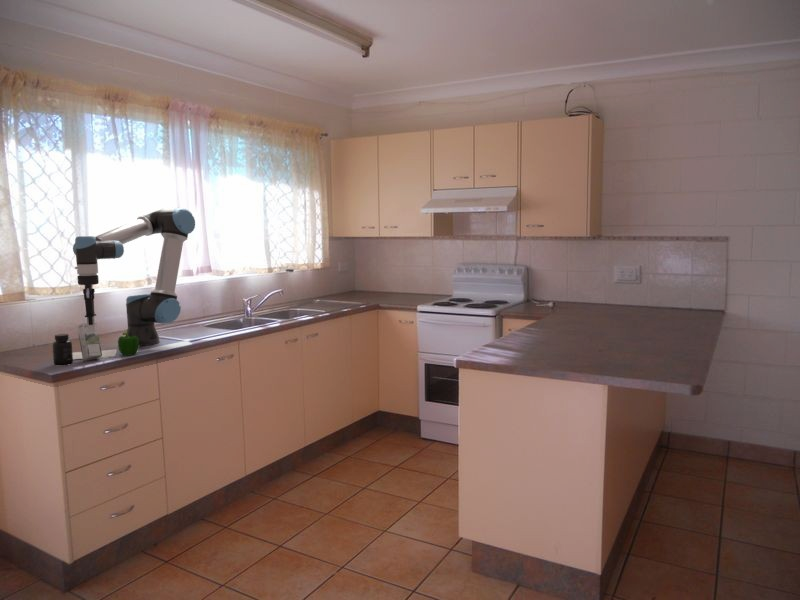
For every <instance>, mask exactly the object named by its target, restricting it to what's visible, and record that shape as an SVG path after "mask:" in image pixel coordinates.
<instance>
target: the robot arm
mask: <svg viewBox="0 0 800 600" xmlns="http://www.w3.org/2000/svg"><path fill="white" fill-rule="evenodd" d="M195 228H196V220H195V217H194V216H193V214H192V212H191V211H190V210H188V209H187V208H182V207H181V208H180V207H175V208H173V207H172V208H158V209H156V210H153V211H151V212H147V213H146V214H142V215H140V216H138V217H137V219H136V220H134V221H131V222H129V223H126V224H124V225H121V226H119V227H116V228H113V229H111V230H108V231H106V232H103V233H101V234H98V235H96V236H94V235H93V236H92V235H91V236H90V235H89V236H84V235H83V236H80V235H79V236H76V237H75V240H74V244H73V247H72V251H73V254H74V255H75V260H76V261H75V262H76V266H75V267H74V269H75V270H76V272H77V284H78V285H80V286H84V288H83V289H82V293H83V300H84V303H85V315H84V318H86V323H87V329H88V333H94V332H95V322H96V319H95V317H97V314H96V312H95V300H94V299H95V293H96V291H95V288H93V285H98V284H100V283H99V281H100V280H99V275H98V273H99V264H98V260H111V259H112V260H113V259H114V260H115V259H120V258H122V257H123V255H124V252H125V249H124V248H125V247H124V244H125V245H126V243H129V242H131V241H135V240H137V239H139V238H141V237H143V236H146V237H148V236H152V235H154V234H160V235H161V237H163V242H162V247H161V252H160V259H159V265H158V269H157V275H156V276H157V277H156V279H155V287H154V289H153V290H151V291H150V293H146V294H145V293H144V294H143V293H142V294H136V295H134V294H133V295H130V296H129V295H128V296H127V297H126V300H125V301H126V303H125V307H126V321H127V330H126V333H128V335H129V336H130V337H131V336H137V338H138V339H139V347H140V346H142V347H143V346H149V345H155V344H158V343H159V342H160V336H159V333H158V332H157V329H156V327H155V323H156V324H161V325H163V324H172V323H174V322H175V321H176V320H177V319H179V316H180V313H181V308H182V307H181V305H180V302H179V301H178V294H176V287H177V286H176V285H177V279H178V274H179V269H180V263H181V262H180V261H181V256H182V253H183V252H182V251H183V245H184V242H185V241H187V240H188V236H189V234H191V233H192V232H193V231H194V230H195Z"/></svg>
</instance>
